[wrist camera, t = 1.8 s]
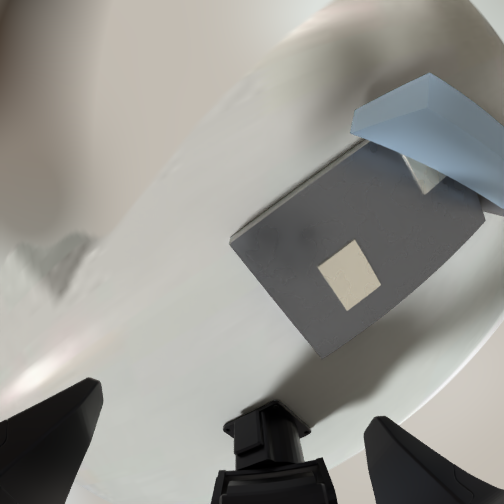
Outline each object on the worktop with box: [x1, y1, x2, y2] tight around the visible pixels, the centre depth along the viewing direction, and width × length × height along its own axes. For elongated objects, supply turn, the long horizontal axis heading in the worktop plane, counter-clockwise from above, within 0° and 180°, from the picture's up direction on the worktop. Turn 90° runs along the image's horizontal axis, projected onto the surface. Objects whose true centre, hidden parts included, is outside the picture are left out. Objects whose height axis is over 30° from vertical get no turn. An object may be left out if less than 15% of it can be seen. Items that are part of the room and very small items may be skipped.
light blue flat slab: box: [350, 73, 504, 216], centre depth 13 cm, size 17×2×11 cm, turn 77°
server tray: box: [229, 139, 485, 359], centre depth 18 cm, size 11×18×2 cm, turn 127°
